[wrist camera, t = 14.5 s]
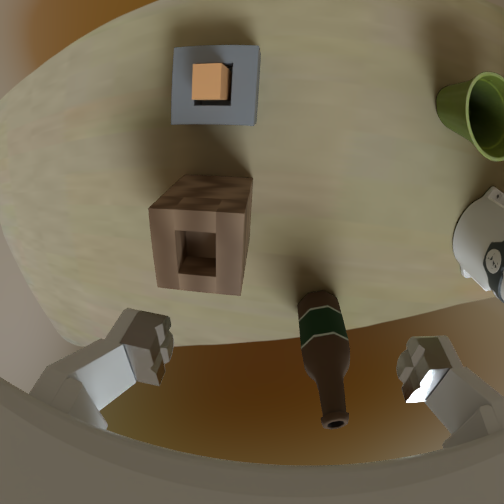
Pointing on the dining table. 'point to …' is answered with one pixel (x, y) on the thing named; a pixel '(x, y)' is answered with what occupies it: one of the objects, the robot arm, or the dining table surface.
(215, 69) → the peg
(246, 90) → the low socket
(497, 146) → the plant pot
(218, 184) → the wood block with hole
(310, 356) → the beer bottle
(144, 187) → the dining table surface
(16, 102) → the dining table surface
